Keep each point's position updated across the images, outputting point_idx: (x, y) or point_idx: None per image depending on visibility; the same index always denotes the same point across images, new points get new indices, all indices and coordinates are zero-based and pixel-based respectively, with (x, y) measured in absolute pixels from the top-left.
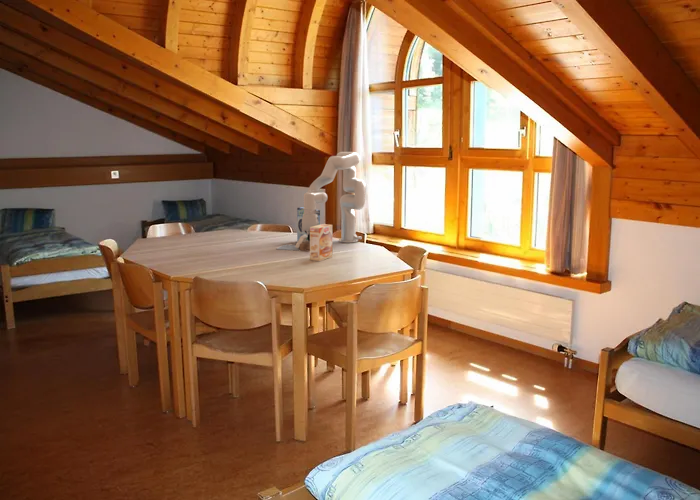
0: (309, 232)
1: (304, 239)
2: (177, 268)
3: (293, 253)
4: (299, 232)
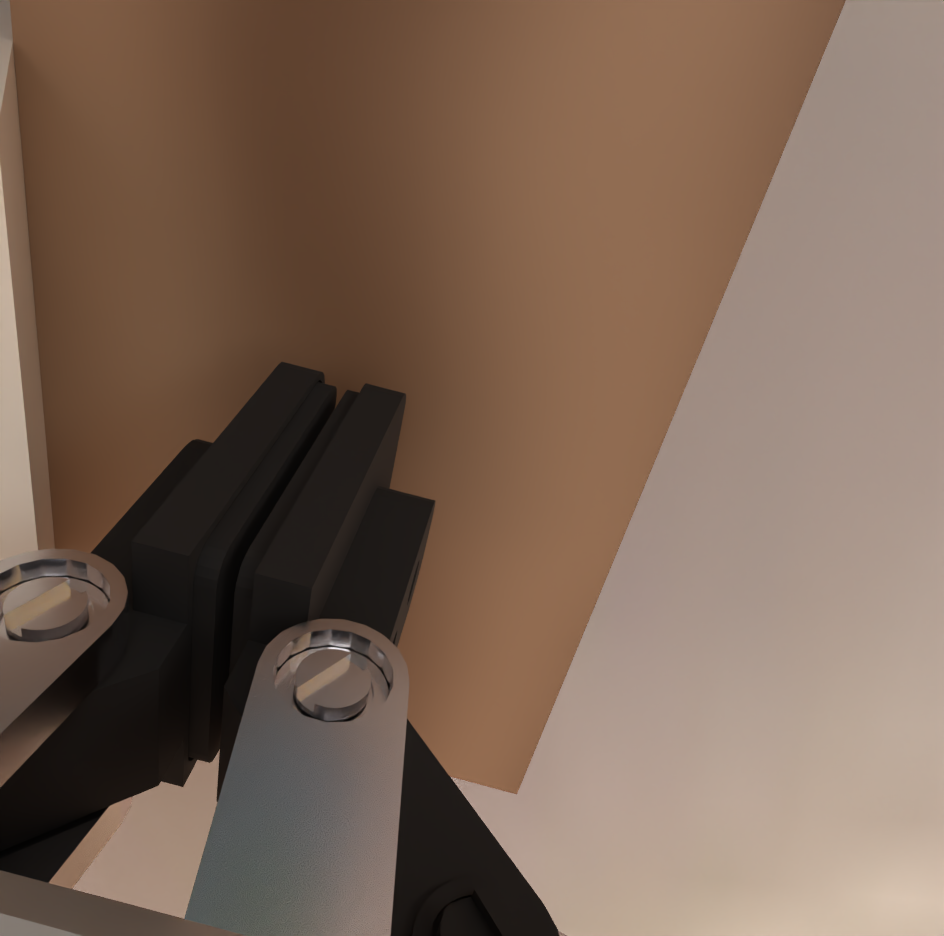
0: (52, 722)
1: (40, 475)
2: None
3: (153, 817)
4: None
